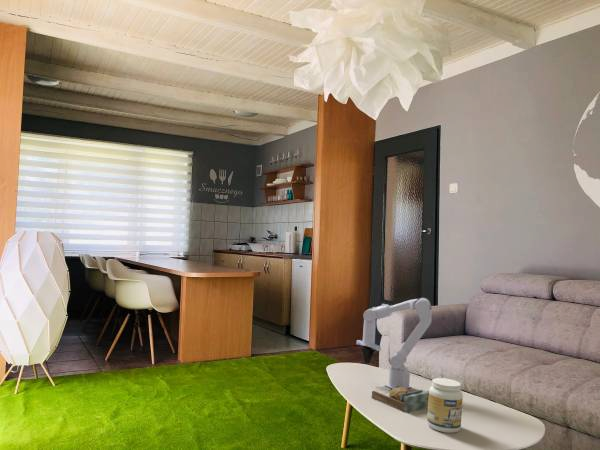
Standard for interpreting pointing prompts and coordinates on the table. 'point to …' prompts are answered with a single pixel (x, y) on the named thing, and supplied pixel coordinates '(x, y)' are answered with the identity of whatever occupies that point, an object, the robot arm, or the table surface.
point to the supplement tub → (445, 405)
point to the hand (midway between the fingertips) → (367, 362)
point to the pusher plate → (409, 394)
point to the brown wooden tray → (409, 403)
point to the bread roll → (398, 392)
